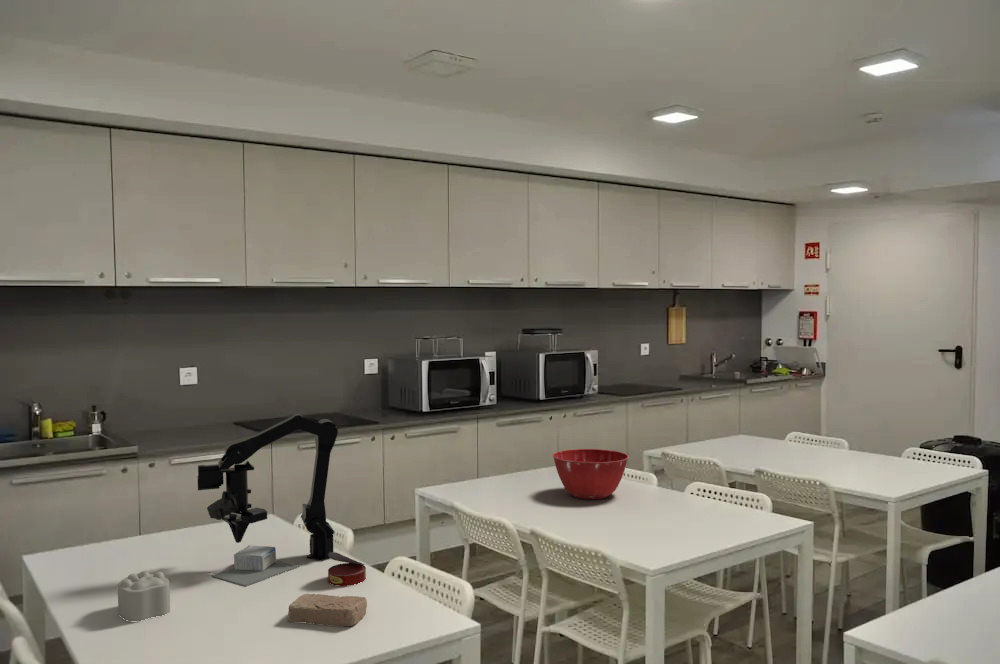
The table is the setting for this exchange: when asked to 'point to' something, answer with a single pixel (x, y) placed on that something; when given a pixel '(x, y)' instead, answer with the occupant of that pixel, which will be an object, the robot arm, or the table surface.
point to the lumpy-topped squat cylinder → (143, 596)
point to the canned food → (345, 571)
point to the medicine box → (254, 558)
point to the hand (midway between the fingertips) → (238, 542)
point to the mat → (254, 574)
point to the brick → (327, 609)
